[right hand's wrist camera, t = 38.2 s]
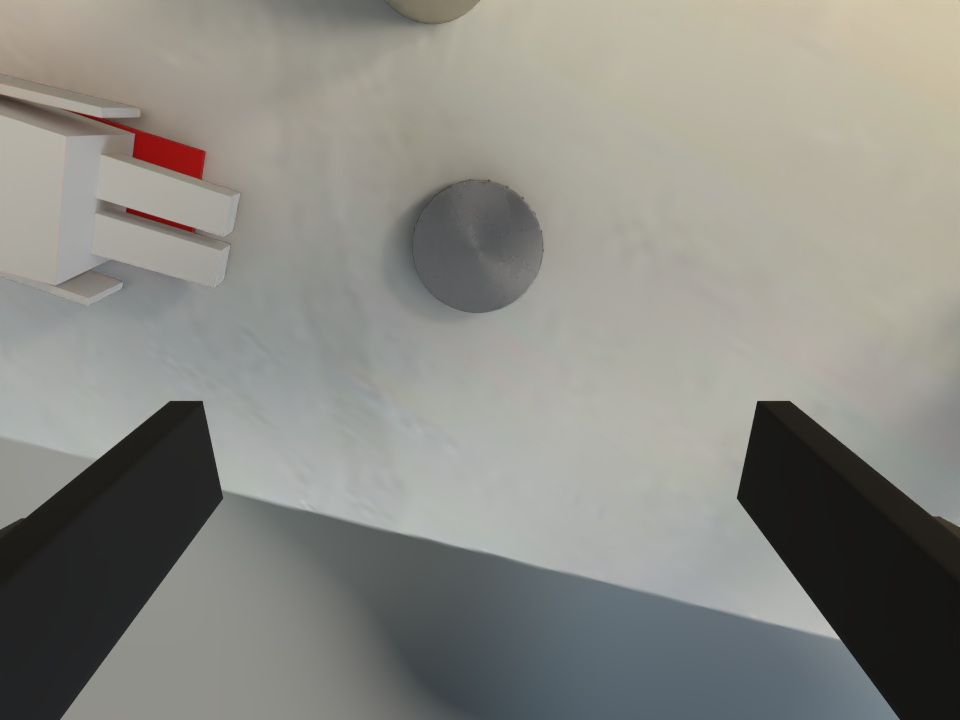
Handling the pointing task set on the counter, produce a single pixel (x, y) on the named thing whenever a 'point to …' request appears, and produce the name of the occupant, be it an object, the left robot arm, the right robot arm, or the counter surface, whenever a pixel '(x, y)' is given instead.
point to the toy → (100, 196)
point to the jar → (432, 9)
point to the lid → (477, 246)
